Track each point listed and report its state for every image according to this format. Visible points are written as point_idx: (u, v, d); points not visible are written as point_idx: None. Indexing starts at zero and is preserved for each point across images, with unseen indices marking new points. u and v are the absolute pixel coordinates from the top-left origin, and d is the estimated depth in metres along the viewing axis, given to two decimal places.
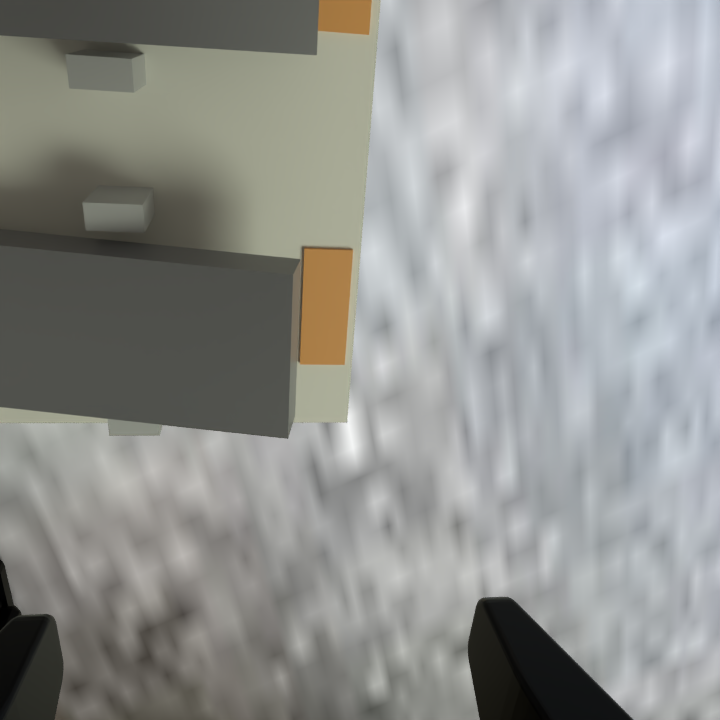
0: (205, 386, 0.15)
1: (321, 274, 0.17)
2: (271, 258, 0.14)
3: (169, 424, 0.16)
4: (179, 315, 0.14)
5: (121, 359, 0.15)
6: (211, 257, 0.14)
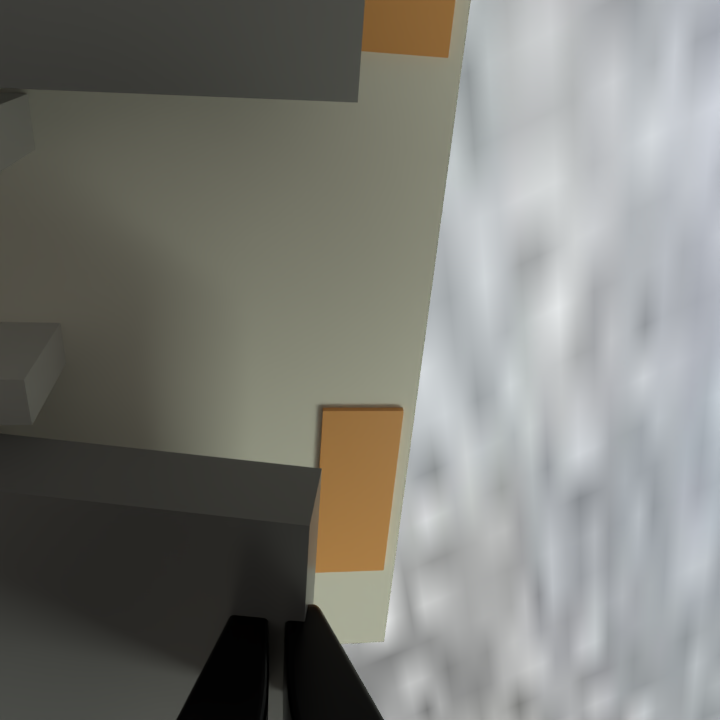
0: (150, 683, 0.08)
1: (350, 446, 0.10)
2: (267, 470, 0.08)
3: None
4: (96, 581, 0.08)
5: None
6: (155, 477, 0.08)
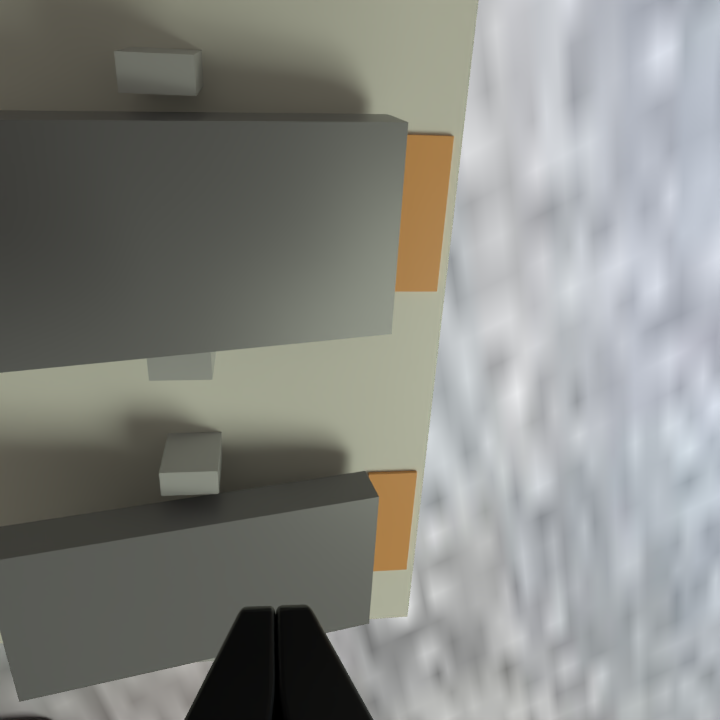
0: None
1: (384, 494, 0.17)
2: (342, 478, 0.16)
3: None
4: (274, 555, 0.15)
5: (214, 607, 0.15)
6: (294, 495, 0.15)
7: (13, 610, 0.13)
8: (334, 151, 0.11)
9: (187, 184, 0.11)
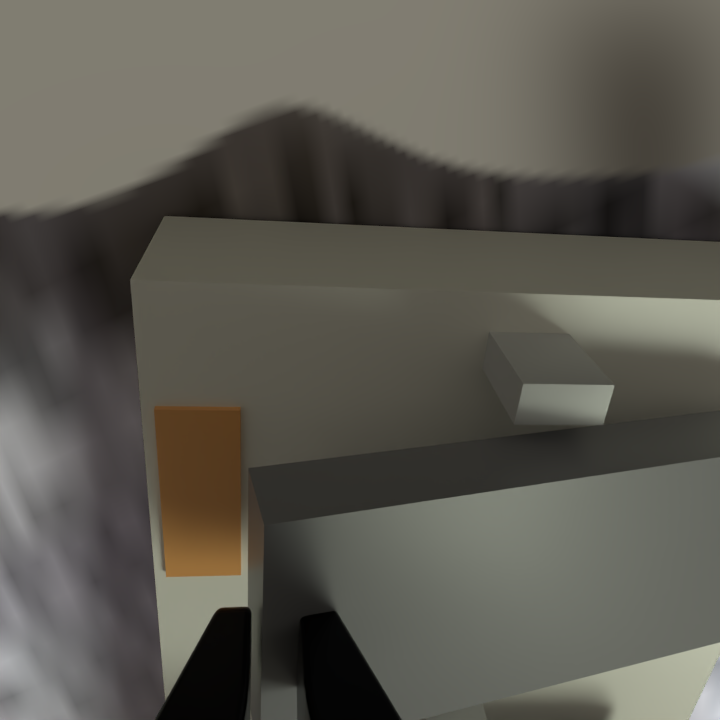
0: None
1: None
2: None
3: None
4: None
5: None
6: None
7: None
8: None
9: None
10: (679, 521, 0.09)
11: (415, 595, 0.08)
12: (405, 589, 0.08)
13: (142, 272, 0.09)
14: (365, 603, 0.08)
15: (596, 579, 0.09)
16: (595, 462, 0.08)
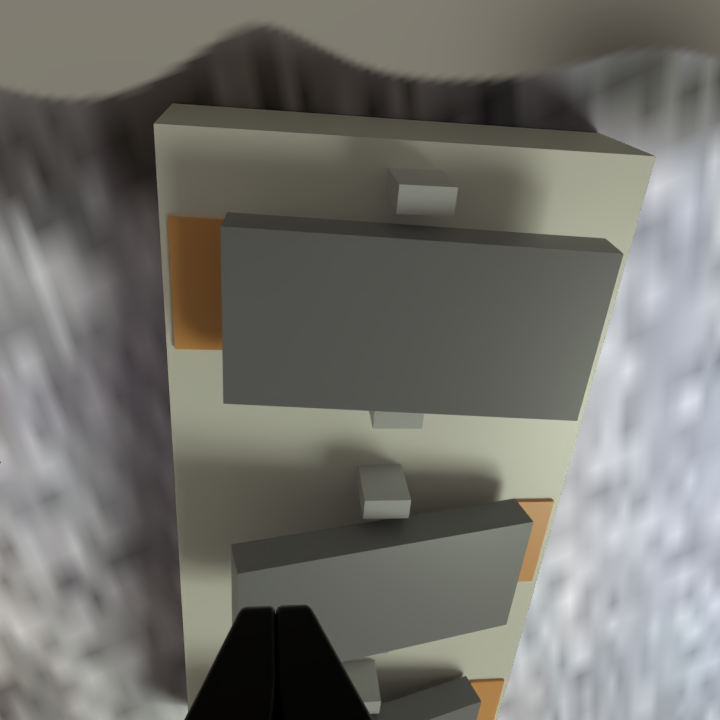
0: None
1: (479, 692, 0.24)
2: (452, 684, 0.23)
3: None
4: None
5: None
6: (425, 704, 0.22)
7: None
8: (487, 542, 0.18)
9: (401, 572, 0.17)
10: (504, 294, 0.14)
11: (315, 302, 0.14)
12: (308, 296, 0.14)
13: (161, 121, 0.14)
14: (283, 299, 0.14)
15: (444, 327, 0.14)
16: (437, 237, 0.13)
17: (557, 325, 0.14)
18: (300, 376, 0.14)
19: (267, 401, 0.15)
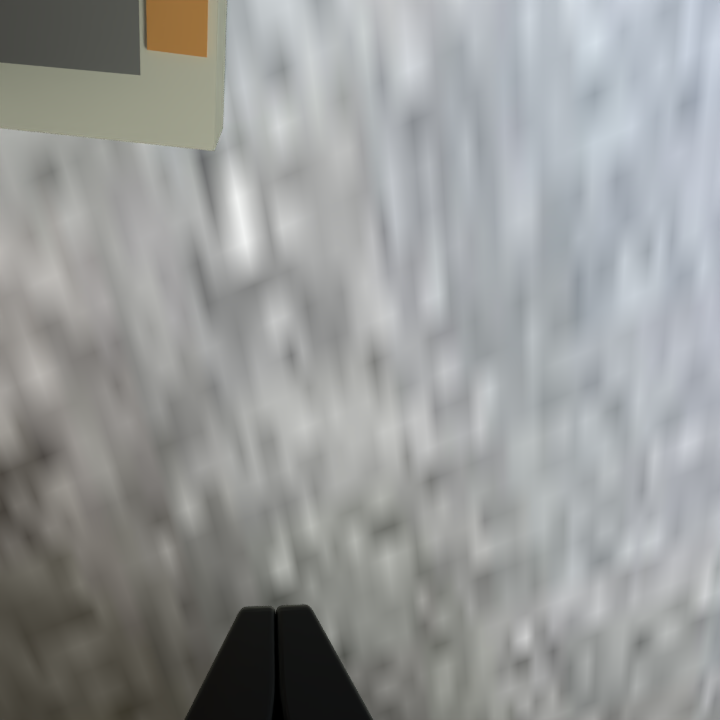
0: None
1: None
2: None
3: None
4: None
5: None
6: None
7: None
8: None
9: None
10: None
11: None
12: None
13: None
14: None
15: None
16: None
17: None
18: None
19: None
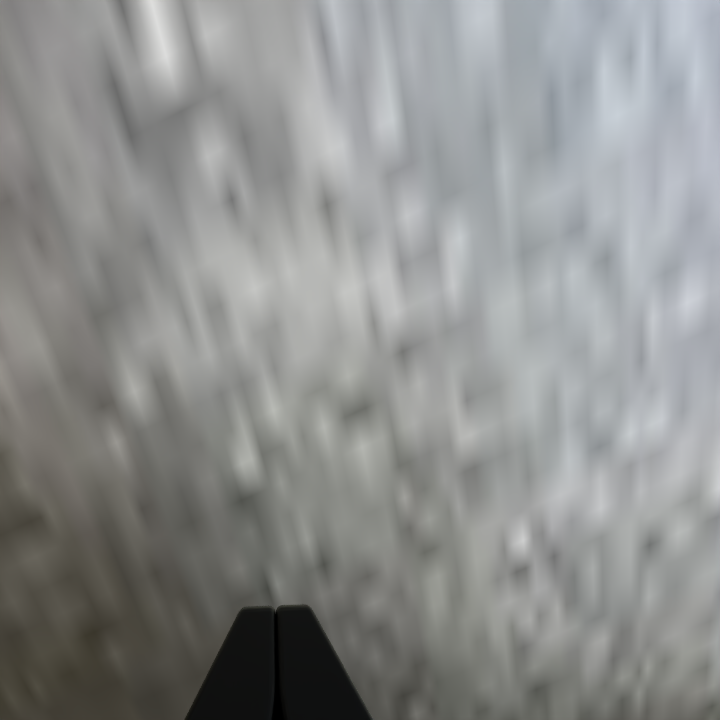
0: None
1: None
2: None
3: None
4: None
5: None
6: None
7: None
8: None
9: None
10: None
11: None
12: None
13: None
14: None
15: None
16: None
17: None
18: None
19: None
